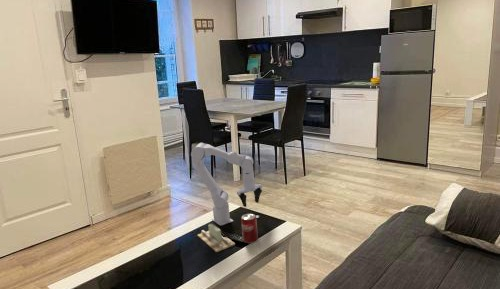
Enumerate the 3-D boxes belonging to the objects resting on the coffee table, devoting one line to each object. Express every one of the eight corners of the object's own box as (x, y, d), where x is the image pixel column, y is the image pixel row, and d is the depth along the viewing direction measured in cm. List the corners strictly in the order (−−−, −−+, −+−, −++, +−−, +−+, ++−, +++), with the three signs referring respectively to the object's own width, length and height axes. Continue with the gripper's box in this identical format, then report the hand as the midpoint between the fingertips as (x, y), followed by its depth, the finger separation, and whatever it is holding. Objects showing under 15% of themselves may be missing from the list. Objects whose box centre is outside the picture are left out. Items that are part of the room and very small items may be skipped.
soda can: (252, 245, 170) (249, 221, 167) (239, 241, 174) (237, 218, 172) (261, 238, 176) (259, 215, 173) (249, 234, 180) (247, 212, 177)
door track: (197, 236, 183) (197, 231, 182) (215, 229, 188) (214, 225, 188) (216, 252, 166) (215, 247, 166) (235, 244, 172) (234, 240, 171)
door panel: (209, 236, 180) (208, 224, 179) (213, 234, 181) (211, 223, 180) (218, 242, 173) (216, 231, 172) (221, 241, 174) (220, 229, 173)
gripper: (240, 185, 183) (243, 210, 186) (264, 178, 190) (266, 202, 193) (233, 181, 188) (236, 206, 192) (257, 175, 196) (259, 198, 199)
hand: (250, 204), depth 193 cm, fingers open, 7 cm apart
